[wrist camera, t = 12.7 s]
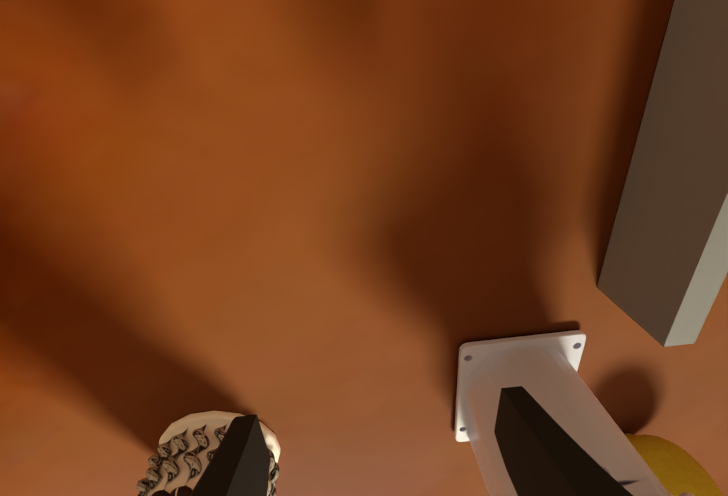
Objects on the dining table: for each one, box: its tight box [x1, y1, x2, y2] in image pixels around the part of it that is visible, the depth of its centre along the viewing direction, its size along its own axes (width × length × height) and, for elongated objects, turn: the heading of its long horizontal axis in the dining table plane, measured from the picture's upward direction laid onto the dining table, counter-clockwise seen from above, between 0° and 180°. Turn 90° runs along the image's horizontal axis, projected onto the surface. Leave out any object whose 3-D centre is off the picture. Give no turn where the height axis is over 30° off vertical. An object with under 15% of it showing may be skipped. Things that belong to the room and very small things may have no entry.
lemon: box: [624, 433, 723, 496], centre depth 25 cm, size 6×6×8 cm
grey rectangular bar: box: [597, 0, 728, 347], centre depth 15 cm, size 18×2×5 cm, turn 5°
